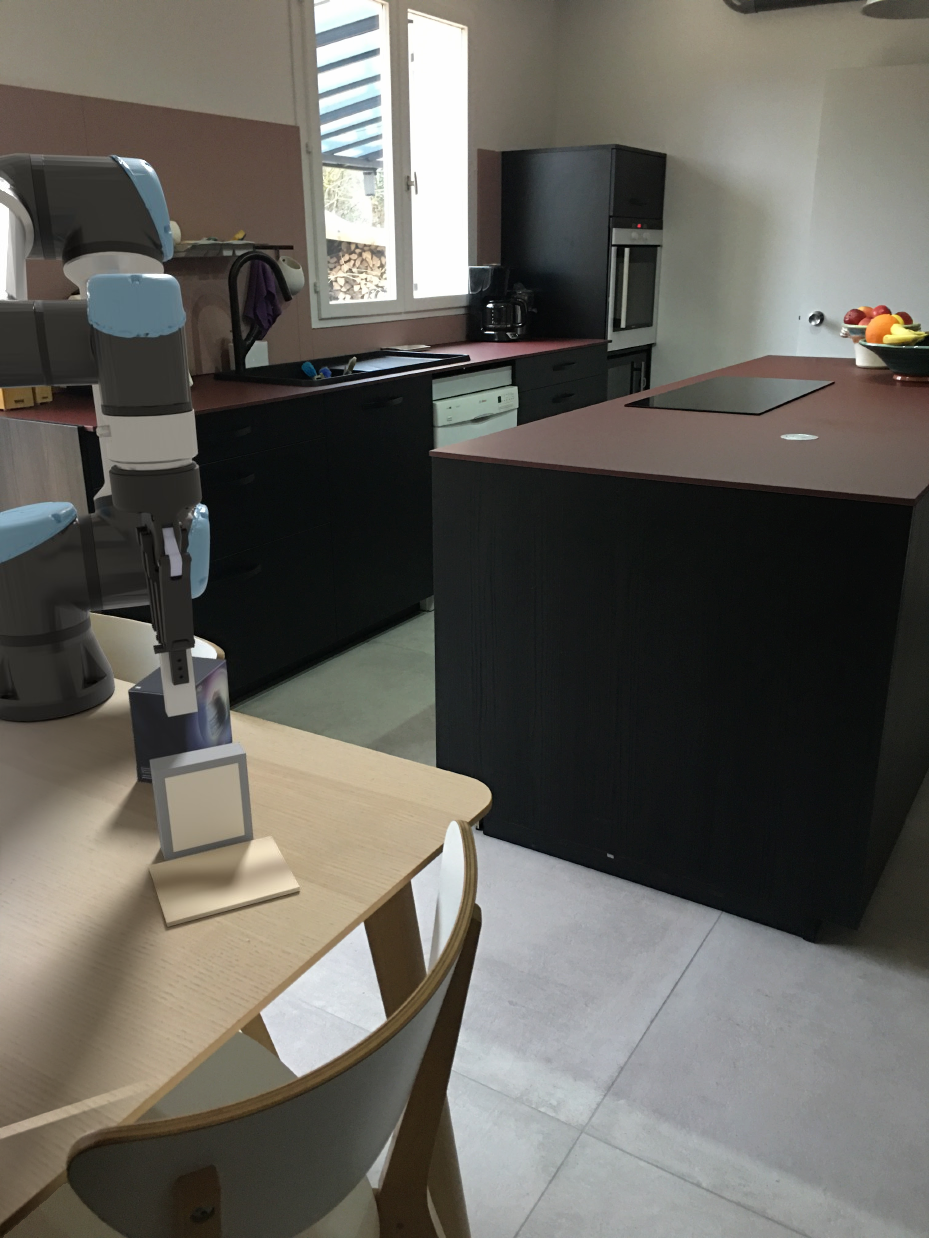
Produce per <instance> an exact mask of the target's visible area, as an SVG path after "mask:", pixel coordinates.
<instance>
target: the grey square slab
mask: <svg viewBox="0 0 929 1238" xmlns="http://www.w3.org/2000/svg"><path fill="white" fill-rule="evenodd" d="M150 767H151V775H152V783H151V784H152V790H153V798H154V805H155V815H156V823H157V828H158V829H157V830H158V837H159V846H160V850H161V853H162V856H163V858H164V862H165V861H169V860H174V859H178V858H182V857H186V856H190V855H194V854H198V853H202V852H206V851H210V850H214V849H218V848H222V847H227V846H231V845H235V844H239V843H243V842H247V841H251V840H255V839H254V830H253V829H254V828H253V817H252V815H253V814H252V807H251V804H252V803H251V797H250V796H251V794H250V784H249V774H248V773H249V772H248V761H247V752H246V751H245V748H244V747H243V746H242V744H241V743H240V741H236V742H232V743H230V744H225V745H220V746H215V747H211V748H206V749H201V750H196V751H191V752H186V753H181V754H176V755H171V756H166V757H161V758H156V759H151V760H150Z"/></svg>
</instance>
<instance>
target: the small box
mask: <svg viewBox="0 0 929 1238" xmlns="http://www.w3.org/2000/svg"><path fill="white" fill-rule="evenodd" d="M192 663H193V672H194V681H195V691H196V700H197V709H198V712H192V713H187V714H181V715H176V716H171V717H168V715H167V713H166V710H165V701H164V693H163V684H162V676H161V667H160V666H159V667H158V668H156V669H155V670H154V671H152V672H151V673H149V674H148V675H146V676H145V677H144V678H143V679H141V680H140V681H139V682H137V683H136V684H134V685H133V686H131V687H130V688H129V689H128V690H127V695H128V703H129V712H130V720H131V728H132V729H131V731H132V735H133V747H134V756H135V766H136V781H137V782H139V783H150V784H153V783H152V775H151V767H150V760H151V759H156V758H161V757H166V756H171V755H176V754H181V753H186V752H191V751H196V750H201V749H206V748H211V747H215V746H220V745H225V744H230V743H234V741H233V731H232V730H233V729H232V719H231V709H230V708H231V707H230V697H229V684H228V683H229V682H228V672H227V659H222V658H211V657H201V656H194V655H192Z"/></svg>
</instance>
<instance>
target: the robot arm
mask: <svg viewBox="0 0 929 1238" xmlns="http://www.w3.org/2000/svg"><path fill="white" fill-rule="evenodd" d="M168 210H169V209H168V205H167V201H166V198H165V195H164V191H163V188H162V185H161V181H160V179H159V176H158V175H157V173H156V170H155V169H154V168H153V166H152V165H151V164H150V163H149V162H147V161H145V160H143V159H141V158H132V157H122V156H121V157H119V156H117V155H115V154H110V155H109V154H108V156H104V155H103V156H102V155H101V156H99V155H98V156H96V155H71V154H70V155H68V154H67V155H65V154H64V155H62V154H40V153H39V154H36V153H35V154H34V153H33V154H32V153H23V152H21V153H19V152H18V153H11V154H10V153H9V154H3V155H0V389H14V388H15V389H16V388H35V387H36V388H37V387H62V386H63V387H67V386H71V387H72V386H92V394H93V395H92V396H93V402H94V407H95V408H94V409H95V415H96V424H97V425H96V426H97V427H96V429H95V431H96V435H97V436H98V437H99V438H98V439H99V447H100V453H101V461H102V462H101V463H102V469H103V477H104V483H103V486H102V487H101V489H99V491H98V492H97V493H96V494H95V495H94V497H93V503H94V510H95V512H93V513H85V514H78V509H76V508H75V505H74V504H72V502H69V501H54V502H53V501H47V502H39V503H33V504H27V505H23V506H18V507H15V508H11V509H7V510H4V511H1V512H0V719H1V720H6V721H17V722H18V721H19V722H27V721H28V722H29V721H42V720H50V719H55V718H57V719H58V718H62V717H66V716H71V715H73V714H77V713H81V712H83V711H86V710H88V709H91V708H94V707H95V706H97V705H100V704H102V702H104V701H106V700H108V698H109V697H111V695H112V694H113V693H114V691H115V688H116V683H115V677H114V671H113V667H112V665H111V664H110V662H109V660H108V658H107V655H106V654H105V652H104V650H103V648H102V647H101V644H100V642H99V641H98V638H97V636H96V635H95V633H94V631H93V625H92V620H91V613H90V612H94V611H101V610H103V611H105V610H113V609H121V608H131V607H132V608H133V607H140V606H148V605H149V607H150V614H151V615H150V616H151V629H152V630H153V631H154V633H155V634H156V635H155V640H156V641H157V643H158V644H155V645H153V646H152V647H153V653H154V654H155V655H158V657H159V667H161V676H162V684H163V693H164V701H165V710H166V713H167V715H168V717H171V716H176V715H181V714H187V713H192V712H198V709H197V700H196V691H195V681H194V672H193V663H192V656H193V655H192V654H193V652H192V649H194V648H195V647H196V639H195V634H194V632H195V631H194V630H195V629H194V618H193V617H194V614H193V612H194V611H193V600H192V599H195V598H198V597H200V596H201V595H202V594H203V593H204V592H205V590H206V588H207V584H208V580H209V571H210V570H209V569H210V548H211V547H210V546H211V545H210V544H211V541H210V540H211V535H210V534H211V533H210V532H211V531H210V521H209V510H208V507H207V505H205V504H202V503H201V502H202V498H203V496H202V487H201V484H202V483H201V477H200V475H201V473H200V466H199V464H197V462H196V461H194V460H193V458H194V457H197V455H198V454H199V452H198V451H199V449H198V440H197V429H196V417H195V409H194V407H193V400H192V395H191V384H190V383H191V381H190V370H189V369H190V367H189V358H188V356H189V355H188V347H187V335H186V322H187V313H186V312H185V310H184V307H183V299H182V298H183V297H182V293H181V285H180V283H179V281H178V280H177V279H176V278H175V277H174V276H173V275H170V274H167V273H164V272H165V267H164V262H168V260H171V259H172V258H173V255H174V238H173V233H172V228H171V225H170V224H171V221H170V220H171V218H170V214H169V211H168ZM26 260H45V261H55V260H56V261H61V263H62V270H63V274H64V276H65V277H66V278H67V279H68V280H69V281H71V282H72V283H73V284H74V285H75V286H77V287H78V289H79V295H80V298H79V299H28V298H29V297H28V283H27V282H28V281H27V265H26V263H27V262H26Z"/></svg>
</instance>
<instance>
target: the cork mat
mask: <svg viewBox="0 0 929 1238" xmlns="http://www.w3.org/2000/svg"><path fill="white" fill-rule="evenodd" d="M281 852H282V851H280V849H279V847H278V845H277V843H276V841H275V840H274V838H273V836H272V835H268V836H264V837H260V838H256V839H254V840H250V841H246V842H242V843H238V844H234V845H230V846H226V847H222V848H218V849H214V850H210V851H206V852H201V853H197V854H193V855H189V856H185V857H181V858H177V859H173V860H169V861H165V860H164V861H161V862H158V863H153V864H150V865H149V864H148V870H149V873H150V875H151V879H152V881H153V886H154V888H155V892H156V895H157V898H158V902H159V903H160V908H161V911H162V914H163V917H164V920H165V923H166V927H167V928H168V927H172V926H176V925H180V924H183V923H187V922H190V921H194V920H197V919H202V918H205V917H208V916H212V915H217V914H220V913H224V912H227V911H231V910H234V909H238V908H242V907H246V906H249V905H252V904H257V903H259V902H260V903H261V902H264V901H268V900H272V899H275V898H279V897H282V896H285V895H290V894H293V893H297V892H301V886H300V885H299V883H298V881H297V880H296V877H295V875H294V874H293V872H292V870H291V868H290V867H289V865H288V863H287V861H286V859H285V858H284V856H283V854H282V853H281Z"/></svg>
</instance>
